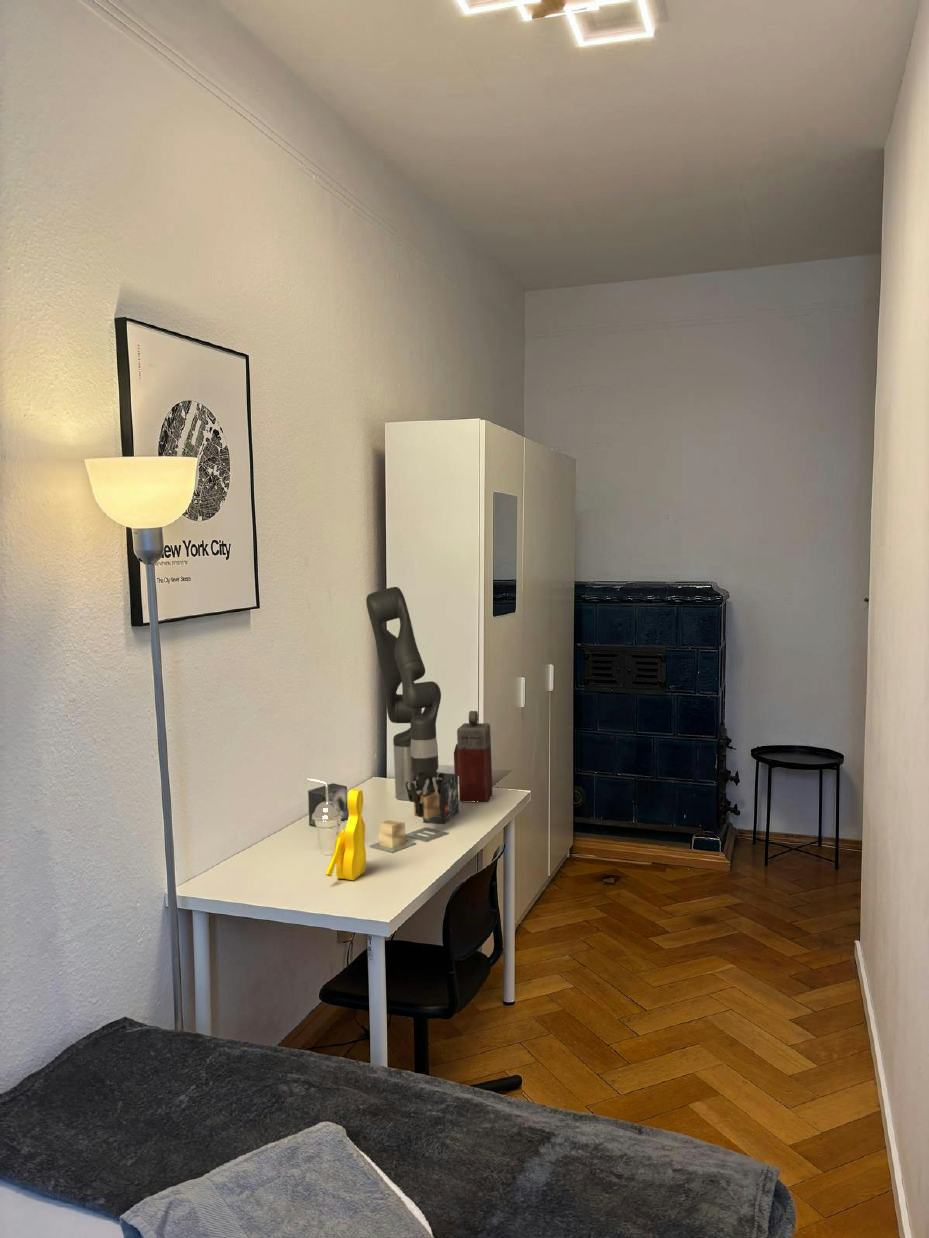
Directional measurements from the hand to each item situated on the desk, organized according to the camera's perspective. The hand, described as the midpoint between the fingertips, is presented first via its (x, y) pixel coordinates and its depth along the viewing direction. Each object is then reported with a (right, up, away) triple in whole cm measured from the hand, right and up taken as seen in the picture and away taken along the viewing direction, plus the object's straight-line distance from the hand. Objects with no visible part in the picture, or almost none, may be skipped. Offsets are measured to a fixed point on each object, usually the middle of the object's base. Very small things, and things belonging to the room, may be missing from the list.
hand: (427, 812), depth 267 cm
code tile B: (-9, -7, -8) cm, 14 cm away
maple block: (-9, -7, -8) cm, 14 cm away
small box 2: (+4, -5, +17) cm, 18 cm away
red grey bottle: (+13, -3, +36) cm, 39 cm away
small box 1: (-30, -6, +15) cm, 34 cm away
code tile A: (0, -6, 0) cm, 6 cm away
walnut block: (0, -1, 0) cm, 1 cm away
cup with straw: (-26, -8, -12) cm, 30 cm away
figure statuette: (-17, -9, -31) cm, 37 cm away
